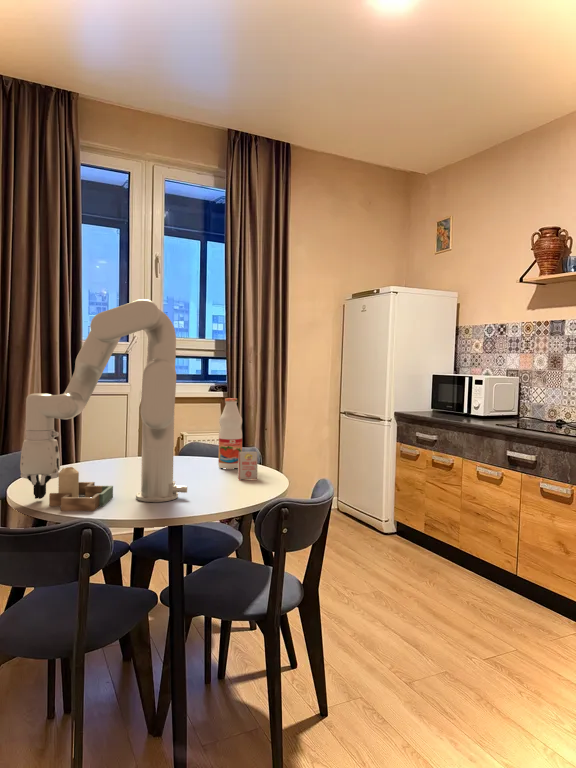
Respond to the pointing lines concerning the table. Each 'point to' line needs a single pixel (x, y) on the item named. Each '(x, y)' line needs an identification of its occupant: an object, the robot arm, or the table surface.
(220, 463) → the fruit juice
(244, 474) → the white red box
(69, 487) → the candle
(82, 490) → the wooden tray
